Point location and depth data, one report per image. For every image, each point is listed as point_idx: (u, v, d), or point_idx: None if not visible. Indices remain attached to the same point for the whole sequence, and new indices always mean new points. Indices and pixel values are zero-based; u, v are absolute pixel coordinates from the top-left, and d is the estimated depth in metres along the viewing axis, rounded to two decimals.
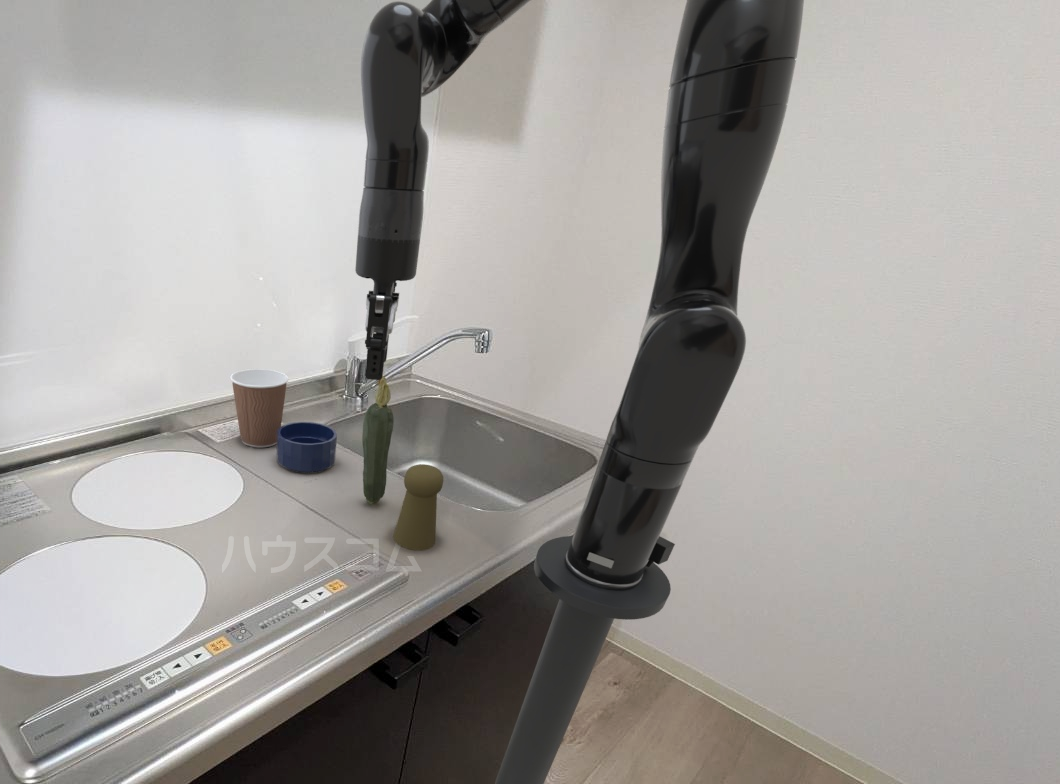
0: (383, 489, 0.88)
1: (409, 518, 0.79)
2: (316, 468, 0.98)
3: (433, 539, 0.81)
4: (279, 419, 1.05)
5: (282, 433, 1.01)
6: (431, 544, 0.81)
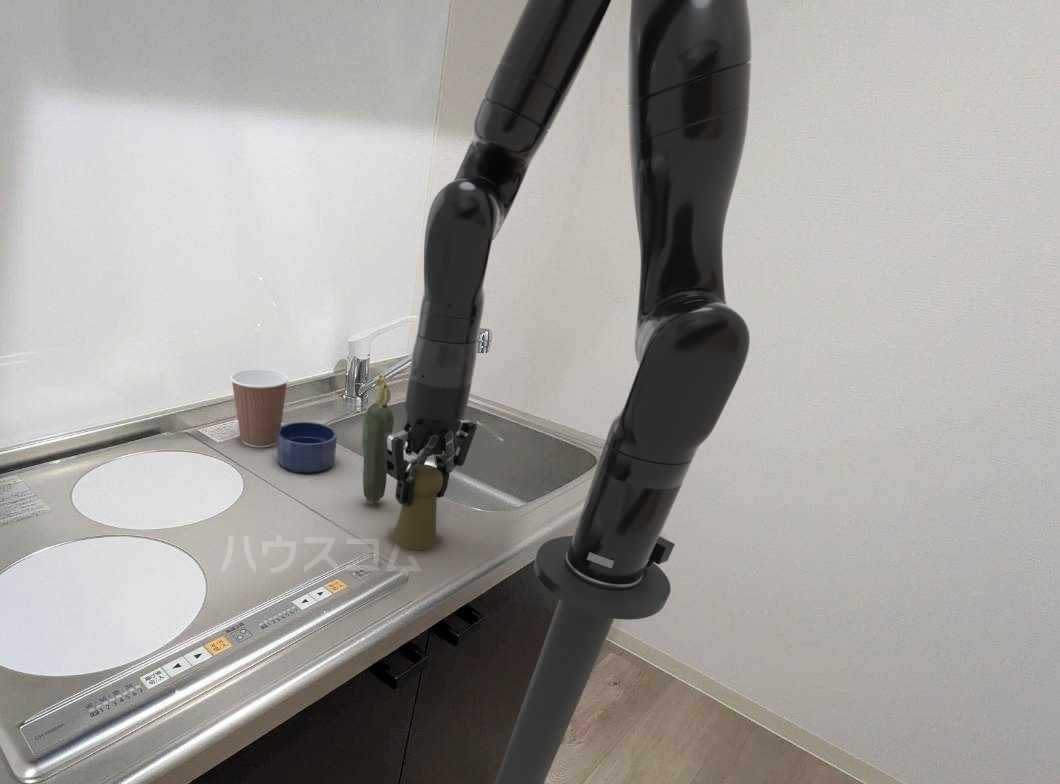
0: (383, 489, 0.88)
1: (409, 518, 0.79)
2: (316, 468, 0.98)
3: (433, 539, 0.81)
4: (279, 419, 1.05)
5: (282, 433, 1.01)
6: (431, 544, 0.81)
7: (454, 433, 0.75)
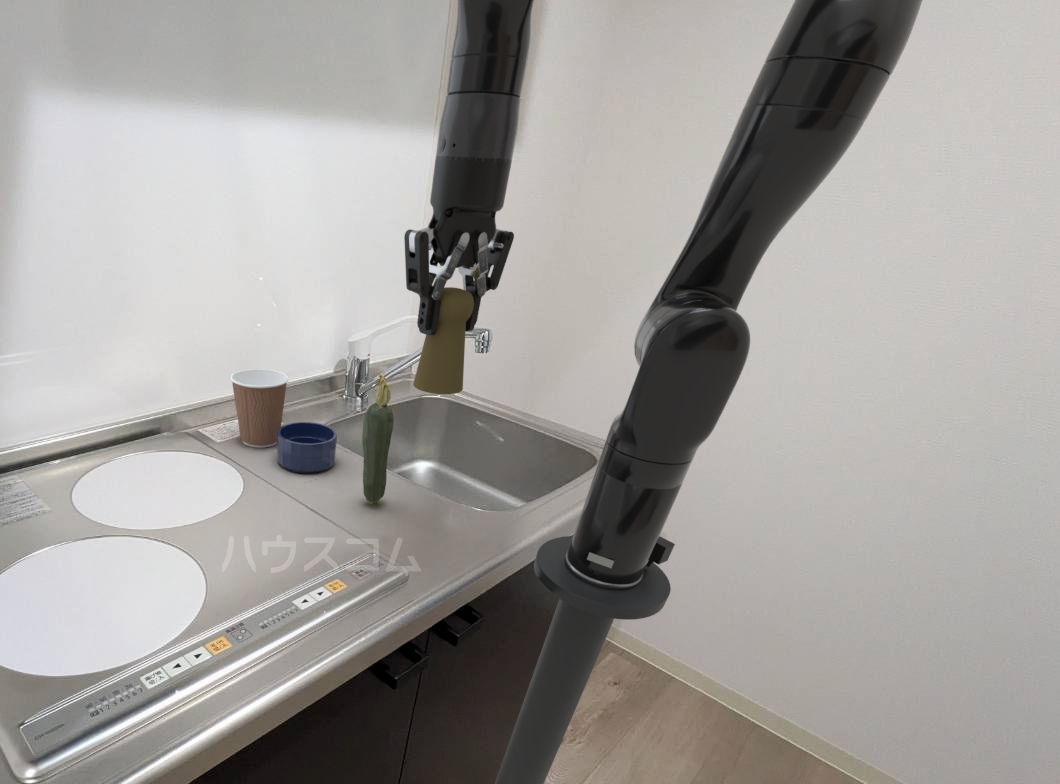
0: (383, 489, 0.88)
1: (433, 353, 0.67)
2: (316, 468, 0.98)
3: (461, 382, 0.69)
4: (279, 419, 1.05)
5: (282, 433, 1.01)
6: (458, 388, 0.69)
7: (488, 240, 0.63)
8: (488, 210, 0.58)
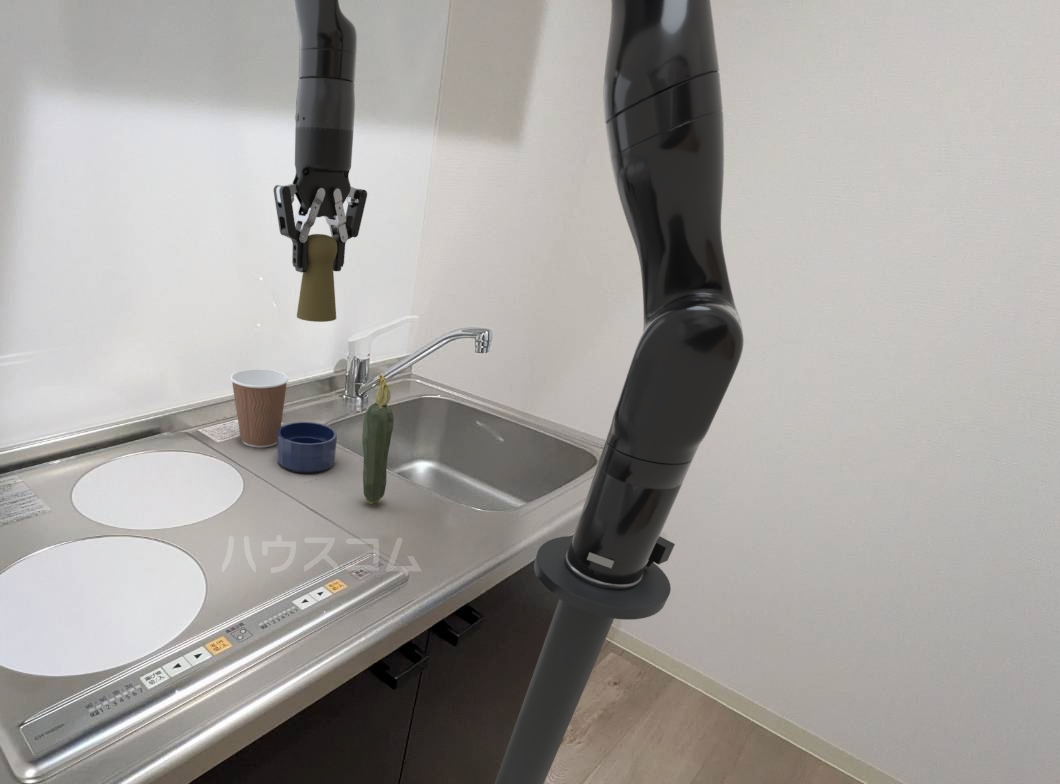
0: (383, 489, 0.88)
1: (307, 287, 0.84)
2: (316, 468, 0.98)
3: (332, 313, 0.86)
4: (279, 419, 1.05)
5: (282, 433, 1.01)
6: (330, 317, 0.86)
7: (344, 196, 0.80)
8: (335, 170, 0.75)
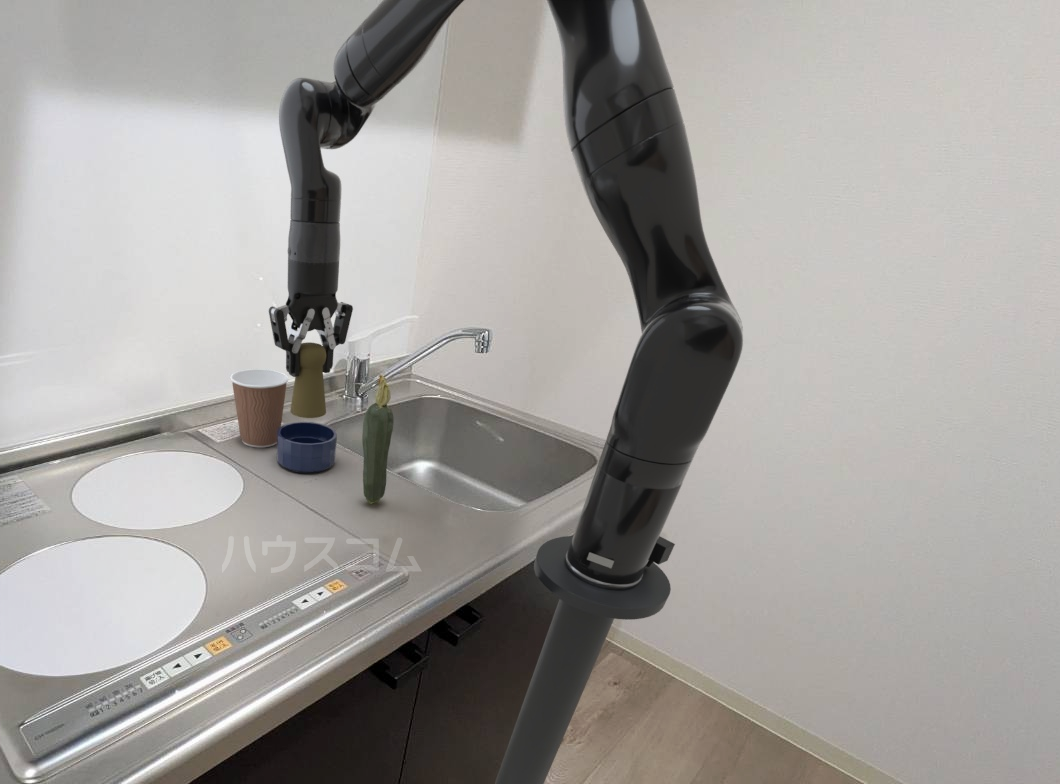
0: (383, 489, 0.88)
1: (299, 389, 0.93)
2: (316, 468, 0.98)
3: (322, 409, 0.95)
4: (279, 419, 1.05)
5: (282, 433, 1.01)
6: (320, 413, 0.95)
7: (332, 311, 0.89)
8: (323, 295, 0.84)
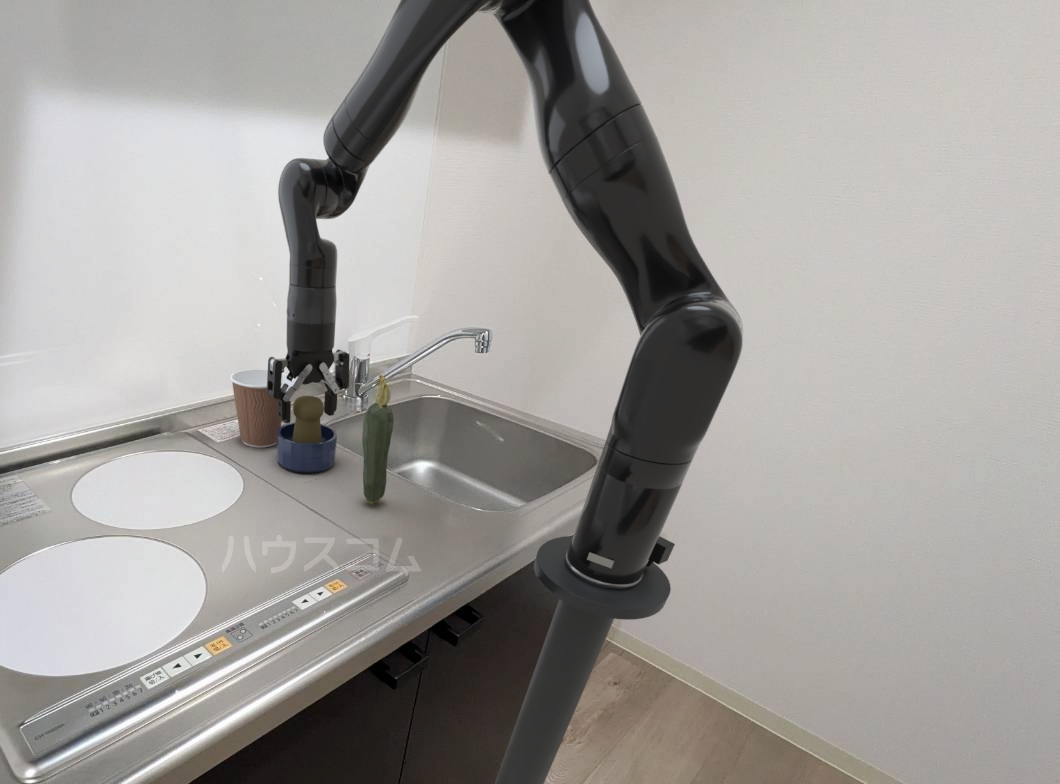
0: (383, 489, 0.88)
1: (298, 439, 0.98)
2: (316, 468, 0.98)
3: None
4: (279, 419, 1.05)
5: (282, 433, 1.01)
6: None
7: (329, 365, 0.94)
8: (320, 352, 0.89)
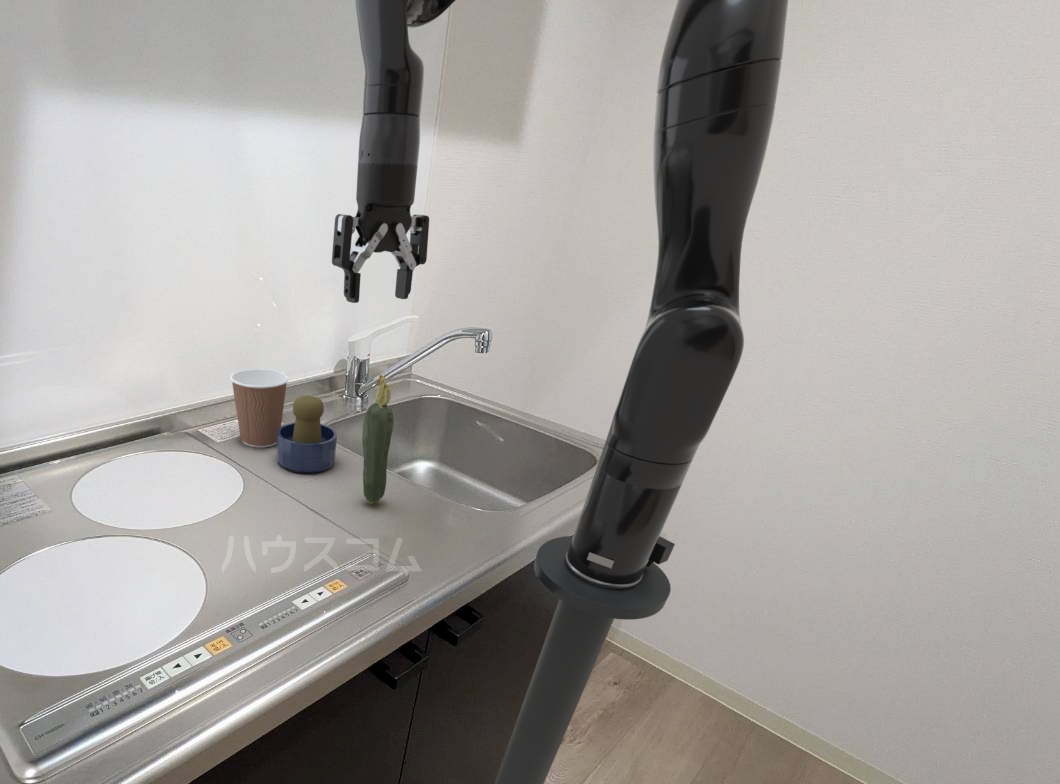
0: (383, 489, 0.88)
1: (298, 439, 0.98)
2: (316, 468, 0.98)
3: None
4: (279, 419, 1.05)
5: (282, 433, 1.01)
6: None
7: (405, 230, 0.78)
8: (400, 205, 0.73)
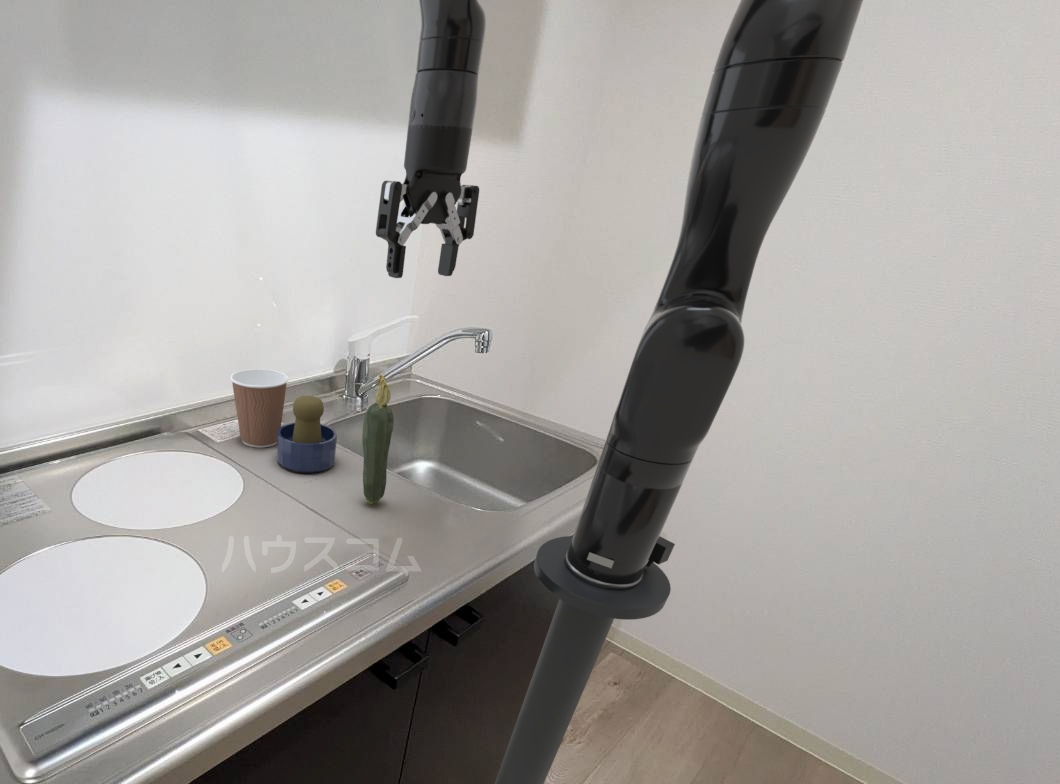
0: (383, 489, 0.88)
1: (298, 439, 0.98)
2: (316, 468, 0.98)
3: None
4: (279, 419, 1.05)
5: (282, 433, 1.01)
6: None
7: (454, 200, 0.73)
8: (452, 172, 0.68)
